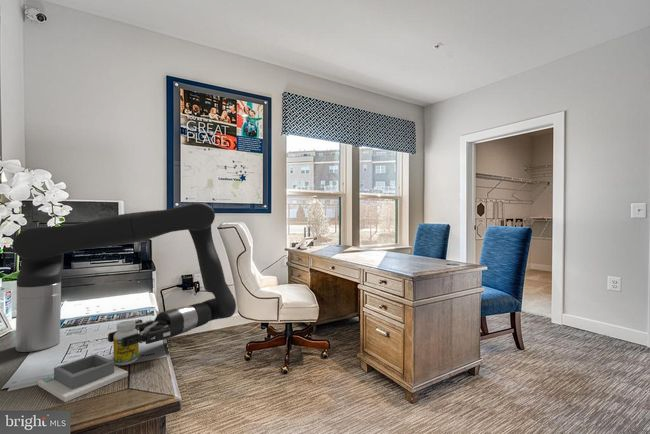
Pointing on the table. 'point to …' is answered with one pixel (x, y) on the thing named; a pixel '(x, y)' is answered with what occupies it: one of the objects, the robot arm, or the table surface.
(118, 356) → the supplement bottle
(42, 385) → the dock
